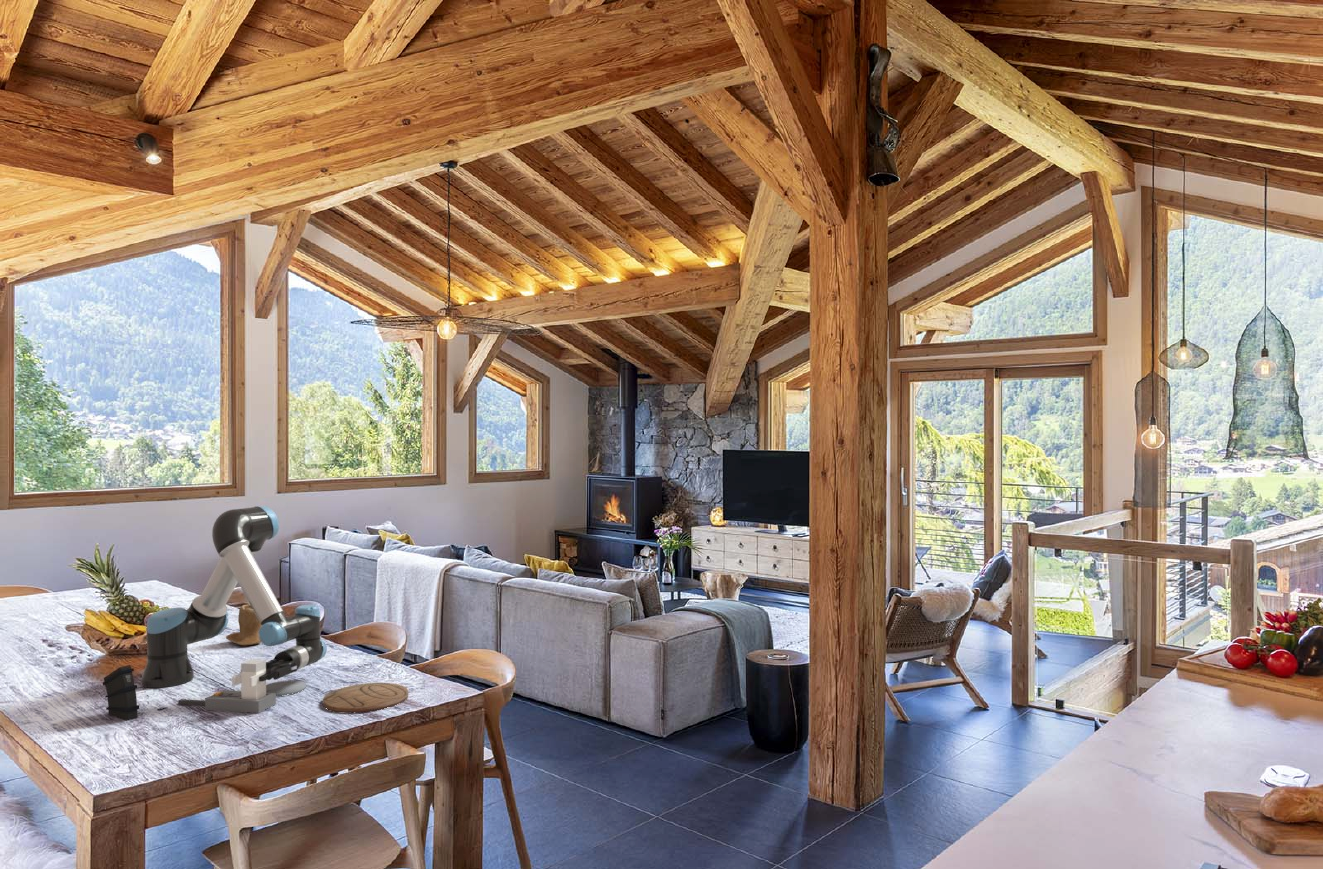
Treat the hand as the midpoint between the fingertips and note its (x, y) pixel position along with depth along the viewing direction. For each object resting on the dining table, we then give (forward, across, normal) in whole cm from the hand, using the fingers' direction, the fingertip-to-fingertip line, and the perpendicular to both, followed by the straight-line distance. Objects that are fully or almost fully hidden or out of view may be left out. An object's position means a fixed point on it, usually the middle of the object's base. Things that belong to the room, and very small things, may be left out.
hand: (242, 681), depth 252 cm
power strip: (-5, +11, -10) cm, 15 cm away
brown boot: (-76, +55, -10) cm, 94 cm away
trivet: (-18, -30, -10) cm, 36 cm away
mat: (-23, +3, -10) cm, 25 cm away
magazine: (+7, +35, -10) cm, 37 cm away
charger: (-5, 0, -8) cm, 9 cm away
